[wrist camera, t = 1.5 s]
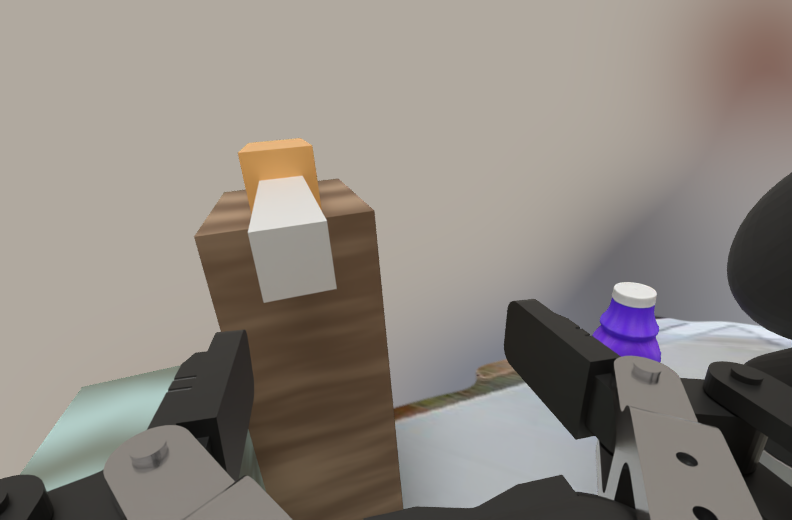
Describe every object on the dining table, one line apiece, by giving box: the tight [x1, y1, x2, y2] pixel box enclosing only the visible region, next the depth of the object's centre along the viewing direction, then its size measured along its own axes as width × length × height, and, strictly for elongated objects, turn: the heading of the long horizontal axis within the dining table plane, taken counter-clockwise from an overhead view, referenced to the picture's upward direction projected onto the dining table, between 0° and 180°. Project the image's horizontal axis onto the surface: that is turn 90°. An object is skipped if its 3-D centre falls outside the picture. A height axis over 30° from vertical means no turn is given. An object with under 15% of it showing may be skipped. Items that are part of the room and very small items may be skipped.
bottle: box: [592, 282, 661, 362], centre depth 45 cm, size 7×6×17 cm
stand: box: [20, 179, 403, 520], centre depth 28 cm, size 24×20×32 cm
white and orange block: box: [238, 138, 337, 303], centre depth 21 cm, size 21×4×4 cm, turn 17°
